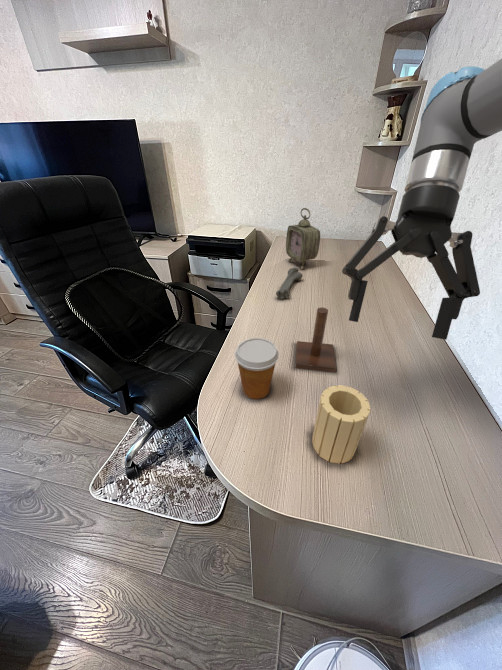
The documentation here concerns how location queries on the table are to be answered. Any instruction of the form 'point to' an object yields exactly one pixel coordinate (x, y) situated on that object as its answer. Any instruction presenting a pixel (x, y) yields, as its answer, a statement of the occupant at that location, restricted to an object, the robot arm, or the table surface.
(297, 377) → the table surface
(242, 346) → the disposable coffee cup
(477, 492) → the table surface
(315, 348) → the spindle stand
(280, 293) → the bone
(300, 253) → the tabletop clock
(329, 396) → the wooden stave sleeve
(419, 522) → the table surface
